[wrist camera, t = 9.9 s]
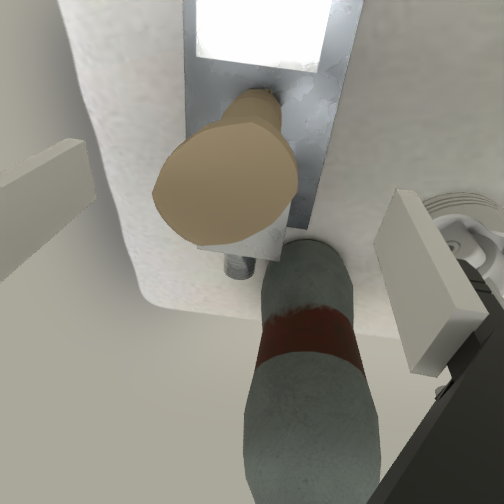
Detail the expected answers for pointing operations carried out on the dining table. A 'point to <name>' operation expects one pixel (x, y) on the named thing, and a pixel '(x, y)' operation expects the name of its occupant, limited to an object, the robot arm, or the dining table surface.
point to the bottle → (309, 388)
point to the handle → (229, 174)
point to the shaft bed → (277, 80)
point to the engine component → (472, 235)
